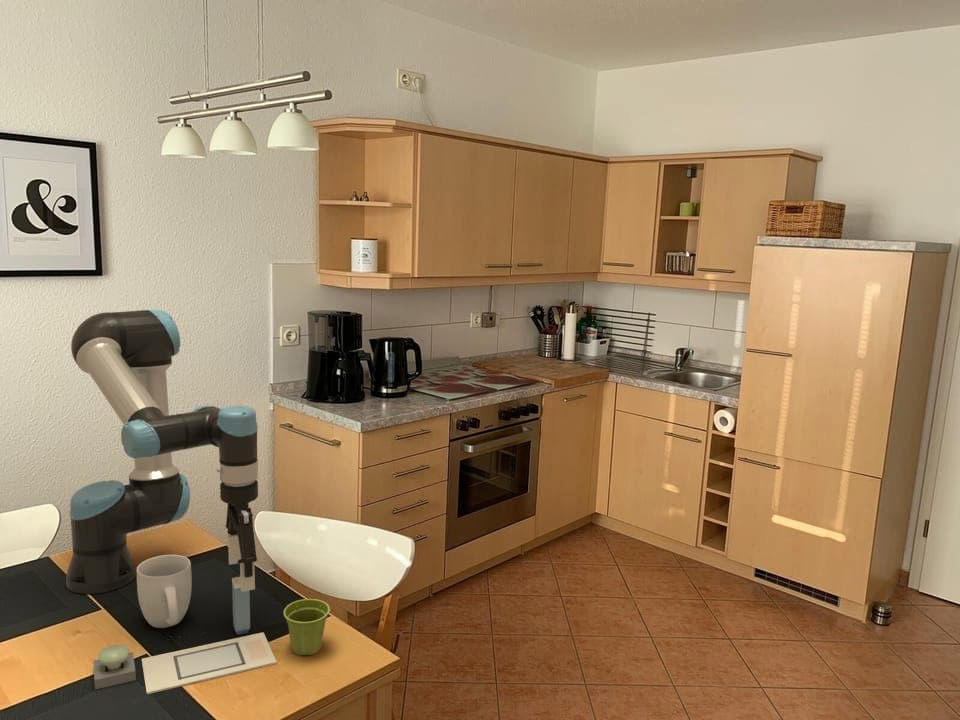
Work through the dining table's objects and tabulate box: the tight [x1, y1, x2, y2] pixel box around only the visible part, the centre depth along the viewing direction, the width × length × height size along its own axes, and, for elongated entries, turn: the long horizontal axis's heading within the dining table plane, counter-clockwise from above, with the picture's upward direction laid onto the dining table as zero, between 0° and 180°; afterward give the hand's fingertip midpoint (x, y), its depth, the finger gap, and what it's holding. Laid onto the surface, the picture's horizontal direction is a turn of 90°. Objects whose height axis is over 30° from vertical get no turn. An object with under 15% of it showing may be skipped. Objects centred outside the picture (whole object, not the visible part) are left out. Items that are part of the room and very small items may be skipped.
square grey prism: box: [231, 576, 251, 636], centre depth 160 cm, size 3×3×12 cm
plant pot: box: [283, 598, 331, 656], centre depth 155 cm, size 9×9×9 cm
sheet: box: [141, 631, 278, 695], centre depth 150 cm, size 12×24×1 cm, turn 118°
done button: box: [98, 644, 130, 671], centre depth 144 cm, size 5×5×4 cm
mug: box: [136, 554, 193, 629], centre depth 162 cm, size 15×11×13 cm
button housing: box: [93, 651, 137, 691], centre depth 144 cm, size 7×7×2 cm
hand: (241, 576), depth 159 cm, fingers open, 13 cm apart
